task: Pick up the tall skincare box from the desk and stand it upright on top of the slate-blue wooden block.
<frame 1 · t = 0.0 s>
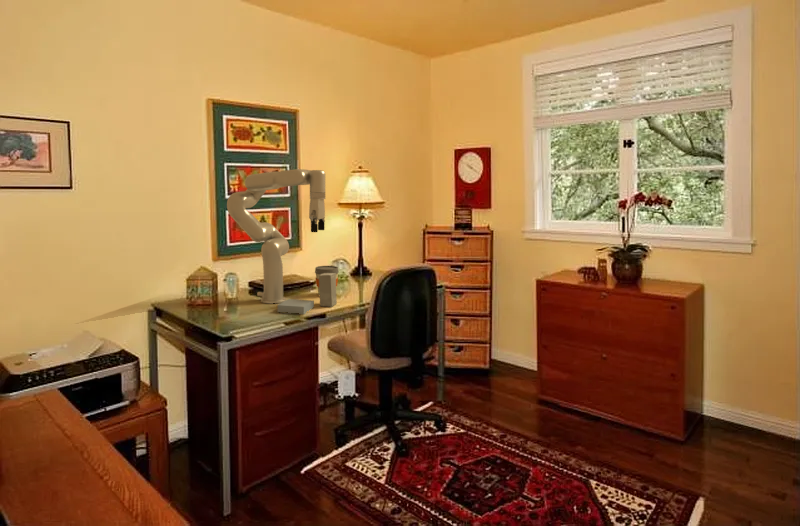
hand: (317, 231, 266), 37 cm above the table, tool pointing down, fingers open, 9 cm apart
skincare box: (327, 305, 271), on the table
reusable coffee cup: (326, 295, 293), on the table
slate block: (296, 311, 260), on the table
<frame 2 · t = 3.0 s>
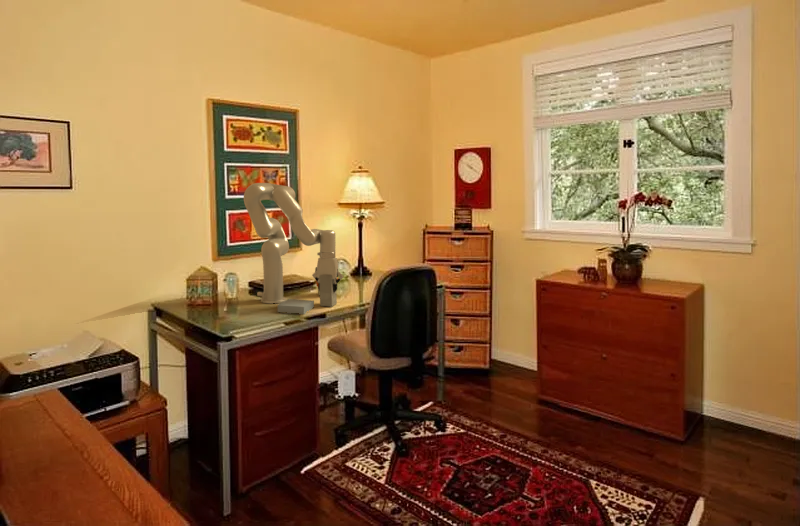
hand: (327, 290, 270), 7 cm above the table, tool pointing down, fingers closed on skincare box, 6 cm apart
skincare box: (327, 305, 271), on the table, touching gripper
everything else where it was.
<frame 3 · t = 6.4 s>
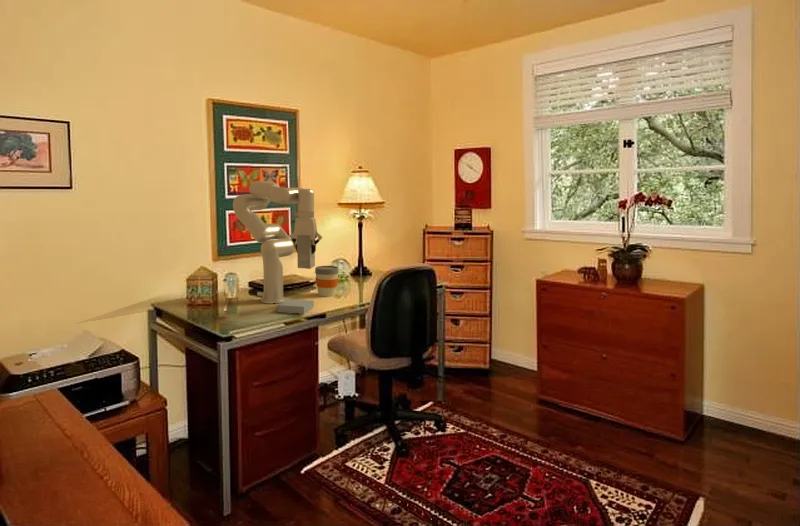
hand: (305, 252, 259), 27 cm above the table, tool pointing down, fingers closed on skincare box, 6 cm apart
skincare box: (305, 267, 260), point 20 cm above the table, touching gripper
everything else where it was.
when the fingers open (12 cm above the table, at t = 9.6 s): skincare box drops 2 cm, resting on slate block.
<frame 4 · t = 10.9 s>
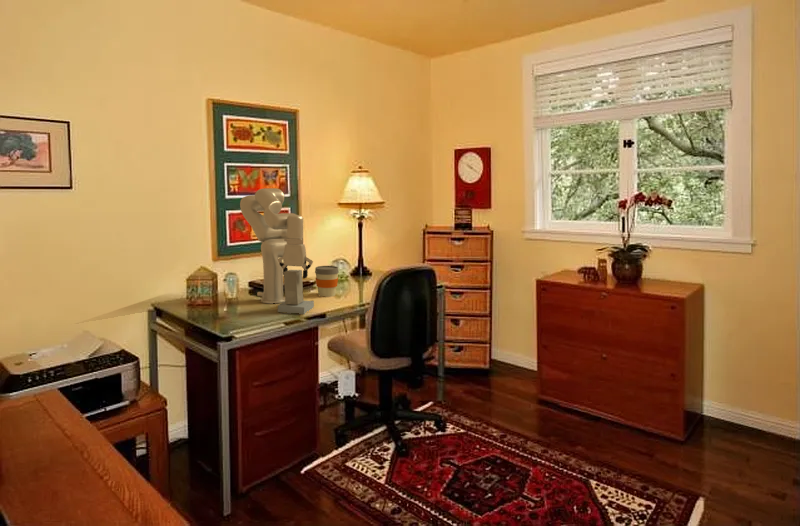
hand: (295, 277, 258), 16 cm above the table, tool pointing down, fingers open, 9 cm apart
skincare box: (293, 303, 260), point 3 cm above the table, touching gripper, slate block
slate block: (296, 311, 260), on the table, touching skincare box
everything else where it was.
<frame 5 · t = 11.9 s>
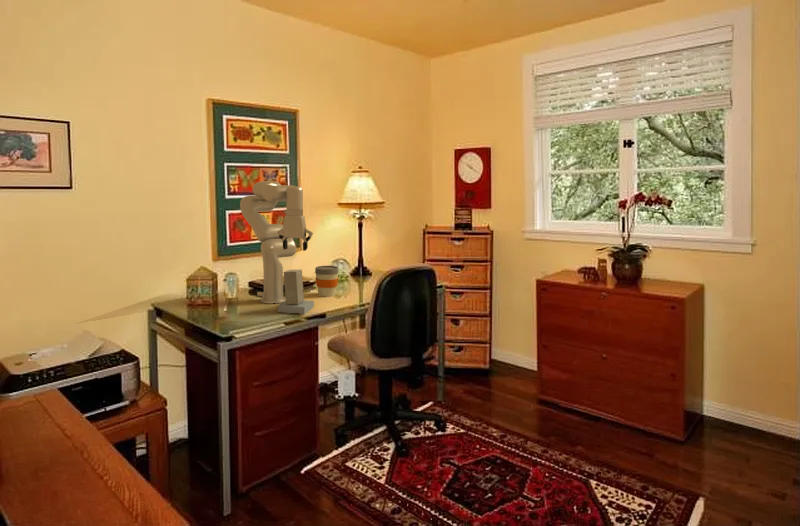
hand: (295, 249, 255), 29 cm above the table, tool pointing down, fingers open, 9 cm apart
skincare box: (294, 303, 260), point 3 cm above the table, touching slate block
everything else where it was.
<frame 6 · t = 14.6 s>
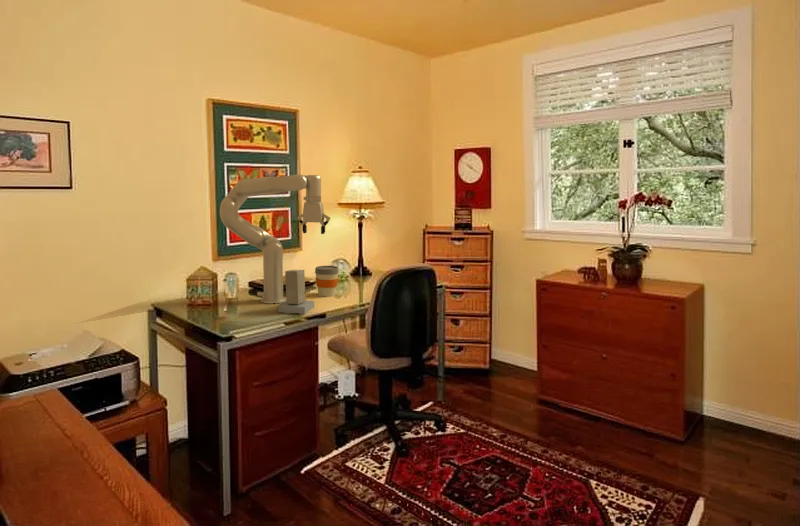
hand: (313, 233, 277), 34 cm above the table, tool pointing down, fingers open, 9 cm apart
at the end: skincare box inside the target area on the slate block (0.2 cm from its centre), point 4.1 cm above the slate block's base; skincare box tilted 3°; the gripper is holding nothing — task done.
